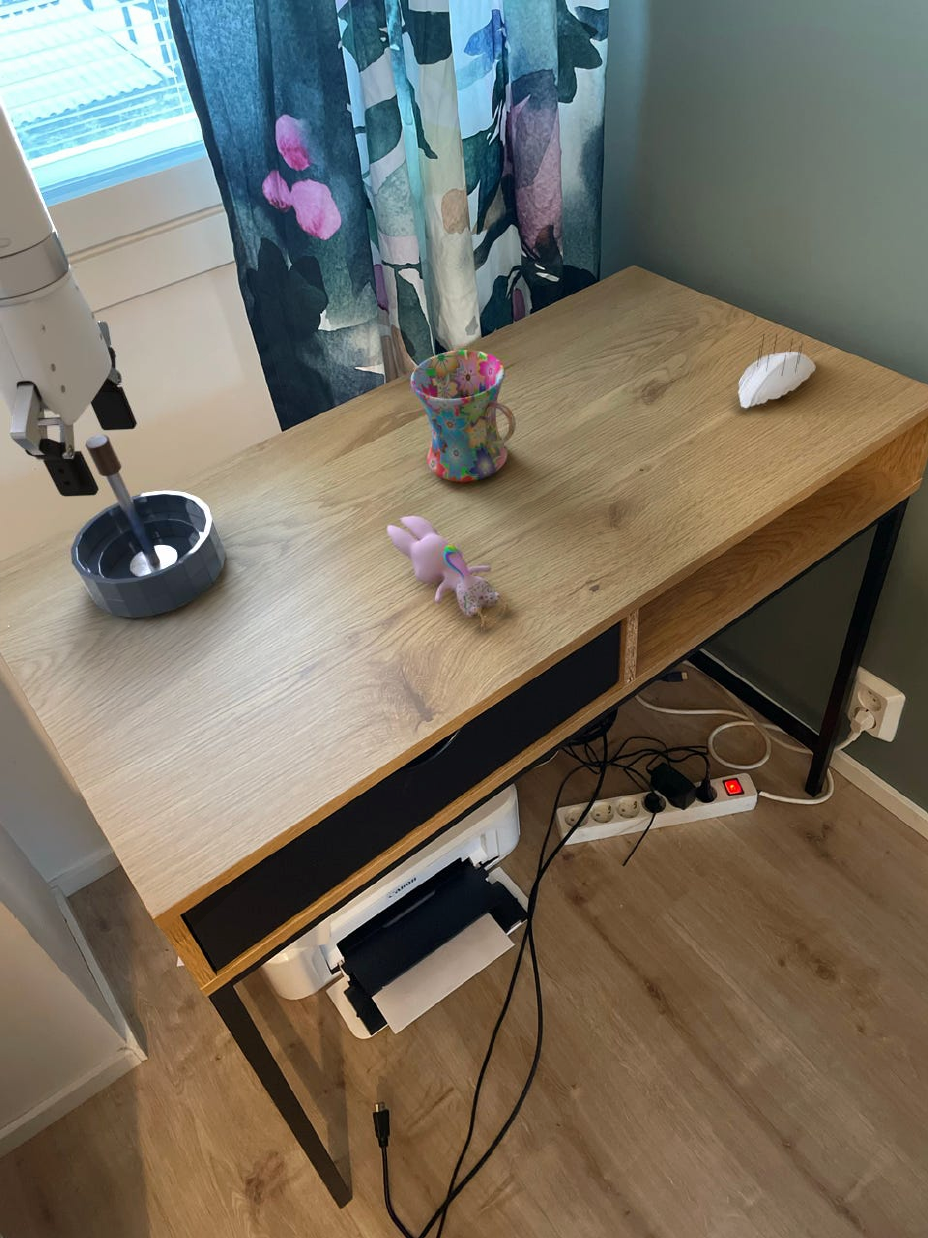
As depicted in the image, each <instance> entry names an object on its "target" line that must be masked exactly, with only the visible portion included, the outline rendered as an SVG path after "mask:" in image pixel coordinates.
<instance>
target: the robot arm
mask: <svg viewBox="0 0 928 1238" xmlns="http://www.w3.org/2000/svg"><path fill="white" fill-rule="evenodd" d="M6 108H7V107H6V106H5V103H4V101H3V99H2V97H1V96H0V394H1V396H2V399H3V401H4V403H5V405H6V407H7V409H8V411H9V413H10V415H11V417H12V420H11V425H10V430H9V432H10V433H9V436H10V437H11V439H12V441H14V442H15V443H16V444H17V445H18V446H20V447H21V448H22V449H23V450H24V451H25V453H26V454H27V455H28V456H29V457H32V458H33V457H34V458H35V459H36V460H37V461H42V462H43V463H44V466H45V467H46V469H47V472H48V473H49V475H50V478H51V479H52V482H53V483H54V485H55V487H56V489H57V491H58V493H59V494H60V495H61V496H62V497H84V496H85V497H87V496H88V497H91V496H97V494H98V491H99V489H100V488H99V486H98V484H97V481H96V480H95V478H94V477H95V476H93V473H92V470H91V469H90V466H89V465H88V462H87V461H86V458H85V457H84V454H83V451H82V450H76V448H75V447H76V446H75V435H74V434H75V433H74V432H75V431H74V424H75V423H76V422H77V421H78V420H79V419H80V418H81V417H82V415H84V413H85V412H86V410H87V409H88V408H89V406H90V405H91V408H92V410H93V412H94V414H95V416H96V419H97V421H98V423H99V426H100V428H101V430H103V431H124V430H134V429H136V426H137V425H138V422H137V420H136V417H135V415H134V412H133V410H132V408H131V405H130V402H129V400H128V397H127V395H126V392H125V390H124V388H123V386H121V385H122V381H123V378H122V375H121V373H120V371H119V370H117V369H116V368H117V367H116V366H117V365H116V357H117V354H116V351H115V349H114V348H113V347H112V340H111V334H110V329H109V325H108V323H107V322H106V321H98V320H97V319H96V317H95V315H94V313H93V310H92V308H91V306H90V304H89V302H88V300H87V298H86V296H85V294H84V292H83V290H82V288H81V287H80V285H79V283H78V281H77V279H76V277H75V275H74V274H73V270H72V267H71V265H70V262H69V259H68V256H67V255H66V252H65V250H64V247H63V245H62V242H61V240H60V238H59V235H58V232H57V230H56V228H55V225H54V223H53V221H52V218H51V216H50V213H49V211H48V208H47V206H46V203H45V200H44V199H43V196H42V193H41V190H40V189H39V186H38V184H37V181H36V179H35V176H34V174H33V172H32V169H31V166H30V164H29V162H28V159H27V157H26V154H25V151H24V150H23V147H22V145H21V142H20V140H19V138H18V135H17V133H16V130H15V128H14V125H13V123H12V121H11V118H10V115H9V112H8V110H7V109H6ZM45 412H52V413H53V414H54V415H59V416H52V417H51V416H50V417H45ZM48 428H58V434H59V441H57V440H54V439H51V438H49V435H48Z"/></svg>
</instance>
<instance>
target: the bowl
mask: <svg viewBox="0 0 928 1238" xmlns="http://www.w3.org/2000/svg"><path fill="white" fill-rule="evenodd" d="M131 498H132V500H133V502H134V505H135V507H136V509H137V511H138V513H139V515H140V517H141V520H142V522H143V524H144V526H145V528H146V530H147V532H148V535H149V537H150V539H151V541H152V543H153V545H154V546H157V545H166V546H170V547H172V548H174V549H175V550H176V552H177V554H178V556H179V558H180V560H178V561H176V562H175V563H173V564H171V565H169V566H167V567H165V568H163V569H161V570H159V571H156V572H153V573H150V574H147V575H143V576H140V577H134V576H133V574H132V572H131V570H130V563H131V561H132V559H133V558H134V557H135V556H136V555H137V554H138V553H139V552H141V549H140V546H139V544H138V542H137V540H136V538H135V536H134V534H133V532H132V530H131V528H130V526H129V524H128V522H127V519H126V517H125V515H124V513H123V511H122V509H121V507H120V505H119V503H118V501H117V502H116V503H113V504H111V505H109V506H107V507H105V508H103V509H102V510H101V511H99V512H98V513H97V514H96V515H94V516H93V517H92V518H90V519H89V520H87V522H86V523H85V524H84V525H83V526H82V528H81V529H80V530H79V531H78V533H77V534H76V535H75V538H74V540H73V543H72V546H71V547H70V557H71V558H70V559H71V564H72V566H73V568H74V569H75V571H76V574H77V575H78V577H79V579H80V580H81V582H82V584H83V586H84V588H85V589H86V592H87V593H88V595H89V596H90V597H91V599H92V600H93V602H94V603H95V604H96V606H97V607H98V608H99V609H101V610H103V611H105V612H107V613H109V614H110V615H112V616H119V617H125V618H133V619H135V618H136V619H137V618H145V617H155V616H157V615H161V614H163V613H164V614H165V613H166V612H170V611H173V610H176V609H179V608H181V607H182V606H184V605H186V604H188V603H190V602H191V601H193V600H195V599H197V598H199V596H200V595H202V594H203V593H204V592H205V591H206V590H208V589H209V588H210V587H211V586H212V585H213V584H215V581H216V580H217V579H218V577H219V575H220V574H221V572H222V571H223V569H224V565H225V560H226V556H227V555H226V554H227V553H226V549H225V546H224V543H223V538H222V537H221V534H220V532H219V529H218V527H217V523H216V521H215V518H214V516H213V514H212V511H211V509H210V507H209V506H208V505H207V504H206V503H205V502H204V501H203V500H202V499H201V498H200V497H197V496H195V495H192V494H190V493H188V492H184V491H175V490H159V491H158V490H157V491H149V492H143V493H140V494H137V495H136V494H135V495H133V496H131Z"/></svg>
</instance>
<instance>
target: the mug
mask: <svg viewBox="0 0 928 1238" xmlns="http://www.w3.org/2000/svg"><path fill="white" fill-rule="evenodd" d="M505 376H506V368H505V366H504V364H503V362H502V361H501V360H500V359H499V358H498V357H496V356H494V355H492V354H490V353H487V352H485V351H480V350H471V349H459V350H458V349H457V350H452V351H446V352H443V353H439V354H436V355H434V356H431V357H429V358H427V359H426V360H424V361H423V362H421V363H420V364H419V365H417V366H416V368H415V369H414V370H413V372H412V374H411V376H410V386H411V389H412V390H413V392H414V393H415V394H416V396H417V397H418V399H419V400H420V402H421V404H422V406H423V407H424V410H425V412H426V415H427V417H428V421H429V424H430V430H431V445H430V447H429V451H428V453H427V465H428V467H429V469H430V470H431V471H432V473H434V474H435V475H436V476H438V477H439V478H441V479H444V480H447V481H452V482H461V483H465V482H466V483H467V482H474V481H478V480H482V479H485V478H487V477H490V476H492V475H494V474H495V473H496V472H498V471H499V470H500V469H501V468H502V467H503V466H504V465H505V463H506V461H507V458H508V454H509V453H508V447H507V444H506V443H507V442H508V441H509V440H510V439H511V438H512V436H513V435H514V432H515V431H516V426H517V425H516V417H515V415H514V413H513V411H511V409H510V408H509V407H508V406H507V405H505V404H504V403H500V402H498V398H499V394H500V390H501V388H502V385H503V382H504V380H505ZM497 410H499V411H500V412H501V413H502V414H504V415H505V417H506V419H507V422H508V431H507V433H506V435H505V436H504V437H503V438H502V437H501V434H500V432H499V429H498V424H497Z"/></svg>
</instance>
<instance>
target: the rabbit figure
mask: <svg viewBox="0 0 928 1238" xmlns="http://www.w3.org/2000/svg"><path fill="white" fill-rule="evenodd" d="M399 520H400V522H401V523H402V524H403V525H404V527H405V528H406V529H407V530H408V531H409V532H410V533H411V534H410V533H409V532H407V531H406V530H405V529H403V528H402V527H398V526H395V525H393V524H389V525H387V527H386V528H387V530H386V531H387V534H388V537H389V538H390V539H391V541H392V543H393V544H394V546H395V547H396V549H397V550H398V551H399V552H401V553H402V554H403V555H405V556H406V557H408V558H409V559H410V561H411V563H412V567H413V572H414V576H415V579H416V580H417V581H418V582H420V583H423V584H426V585H431V584H434V583H440V584H439V586H438V588H437V589H436V592H435V597H434V602H435V603H436V604H440V603H441V602H442V598H443V597H442V595H443V594H444V593H445V592H446V591H448V590H449V591H451V592H453V593H454V594H456V597H457V601H458V606H459V608H460V610H461V612H462V613H463V614H464V616H466V617H467V618H469V619H475V618H478V617H480V618H481V624H480V625H481V626H480V629H481V630H484V631H485V630H486V626H487V625H488V624H489V625H491V623H490V622H489V621H488V620H487V616H486V615H483V613H482V612H483V608H487V609H489V608H493V607H495V606H496V604H497V603H498V601H500V603H502V605H503V610H502V612H501V616H504V614H505V615H508V611H509V612H511V611H512V610H511V609H510V607H509V603H508V601H505V600H504V598H503V597H502V596H503V595H502V594H501V593H499V592H498V591H497V590H496V589H495V588H494V586H493V585H492V584H491V582H489V580H487V579H486V578H484V577H481V576H478V575H473V574H475V573H478V572H479V573H480V572H484V573H489V572H491V570H492V567H491V566H490V565H473V566H469V567H467V564H466V562H465V559H463V551H462V549H460V548H459V547H458V546H455V545H454V544H452V543H451V542H450V541H448V540H447V539H446V538H445V537H443V536H441V535H439V534H438V530H437V528H436V527H435V526H434V525H433V524H432V523H431V522H430V521H428V520H427V519H426V518H423V517H421V516H416V515H411V516H404V517H403V516H402V517H401V518H400V519H399Z"/></svg>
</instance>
